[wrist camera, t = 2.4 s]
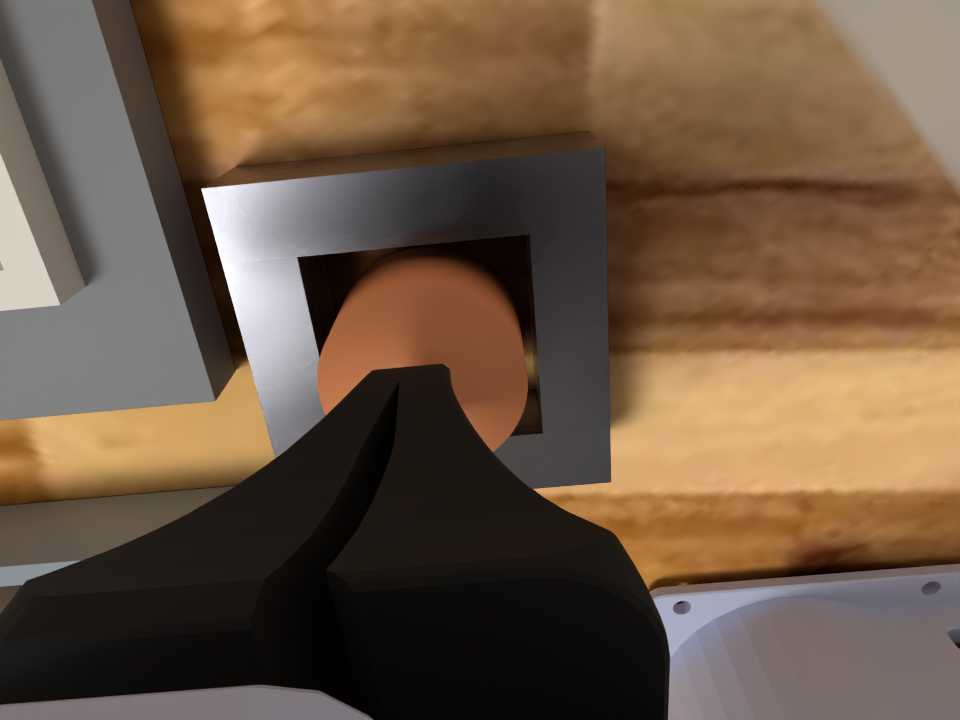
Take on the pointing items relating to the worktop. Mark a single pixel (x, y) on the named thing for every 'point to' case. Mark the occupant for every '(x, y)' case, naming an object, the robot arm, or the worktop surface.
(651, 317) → the worktop surface
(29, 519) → the tote
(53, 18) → the board
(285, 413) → the button collar
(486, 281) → the button
